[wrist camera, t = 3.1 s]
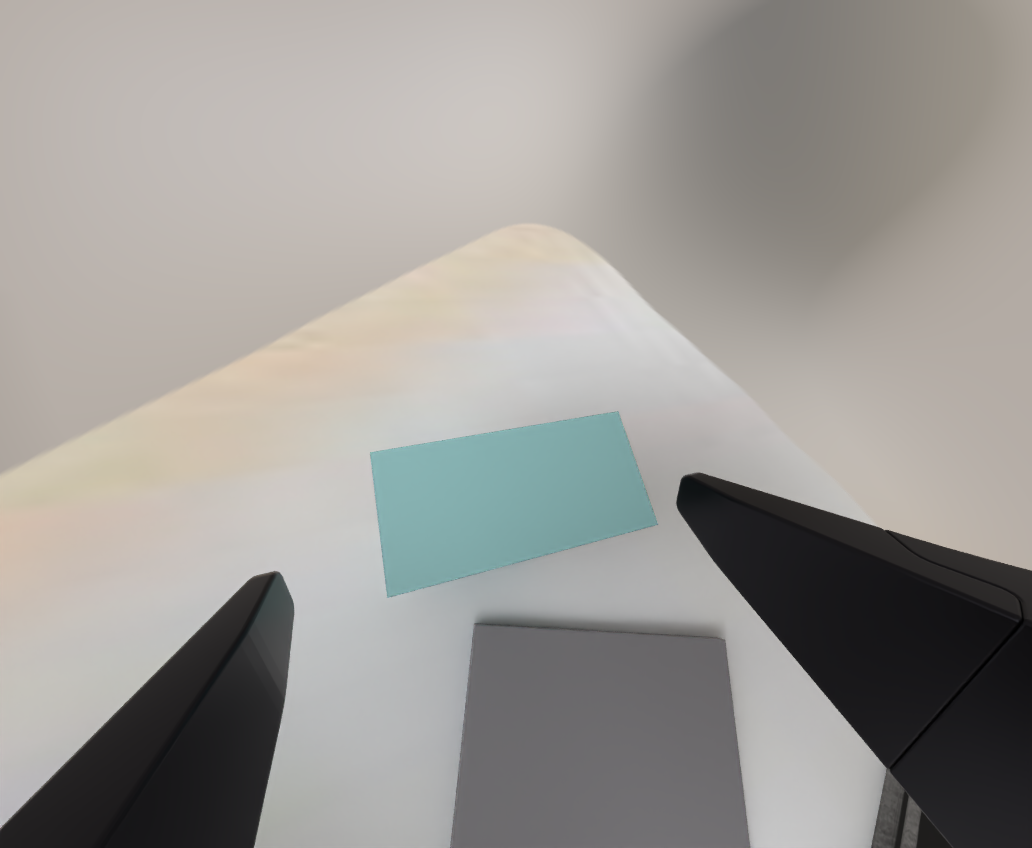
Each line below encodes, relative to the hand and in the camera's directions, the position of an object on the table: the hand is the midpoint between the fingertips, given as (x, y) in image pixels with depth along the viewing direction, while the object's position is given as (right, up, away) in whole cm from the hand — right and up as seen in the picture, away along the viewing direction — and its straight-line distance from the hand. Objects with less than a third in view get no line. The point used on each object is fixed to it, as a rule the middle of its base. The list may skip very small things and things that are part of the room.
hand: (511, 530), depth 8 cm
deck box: (-2, -2, +8) cm, 8 cm away
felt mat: (+3, -13, +5) cm, 14 cm away
